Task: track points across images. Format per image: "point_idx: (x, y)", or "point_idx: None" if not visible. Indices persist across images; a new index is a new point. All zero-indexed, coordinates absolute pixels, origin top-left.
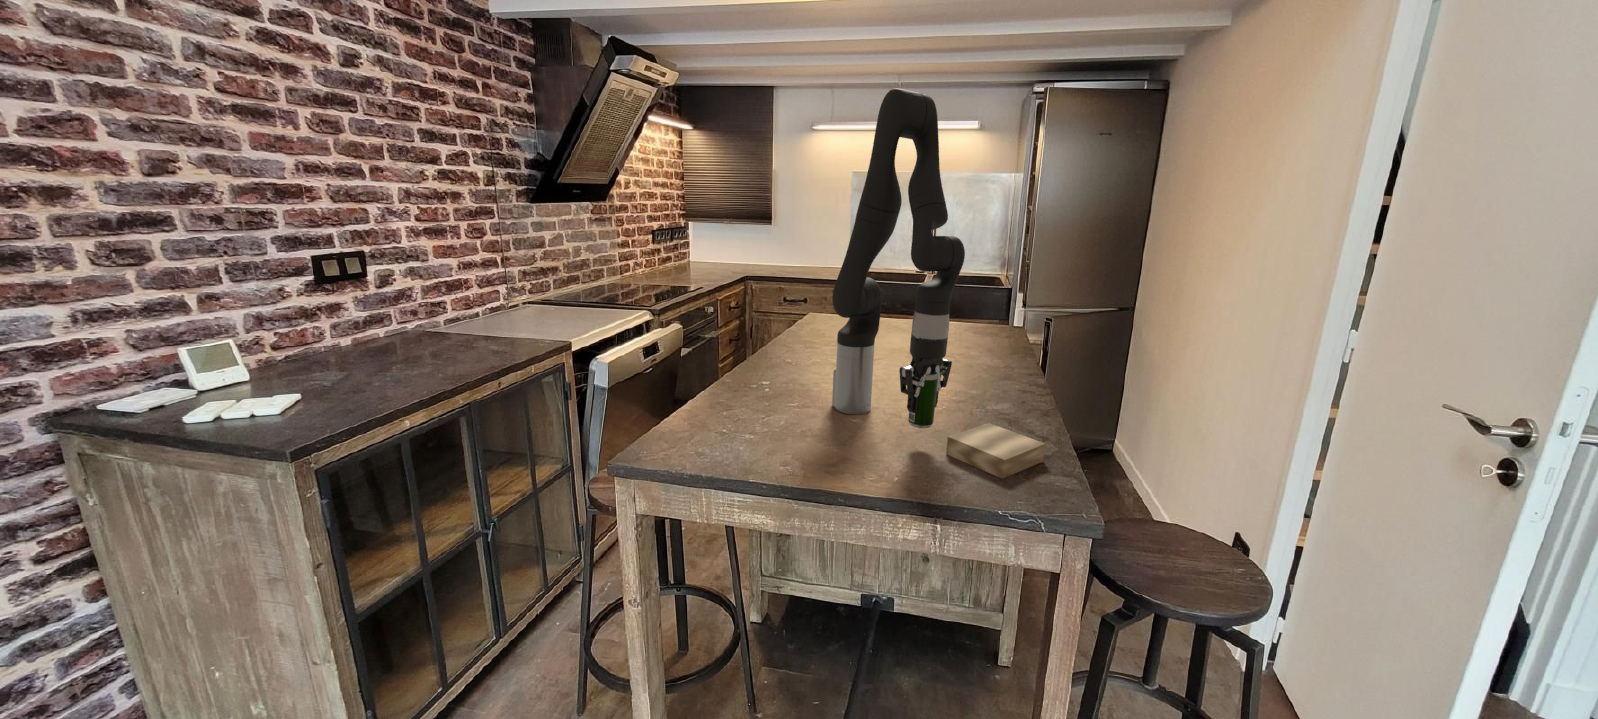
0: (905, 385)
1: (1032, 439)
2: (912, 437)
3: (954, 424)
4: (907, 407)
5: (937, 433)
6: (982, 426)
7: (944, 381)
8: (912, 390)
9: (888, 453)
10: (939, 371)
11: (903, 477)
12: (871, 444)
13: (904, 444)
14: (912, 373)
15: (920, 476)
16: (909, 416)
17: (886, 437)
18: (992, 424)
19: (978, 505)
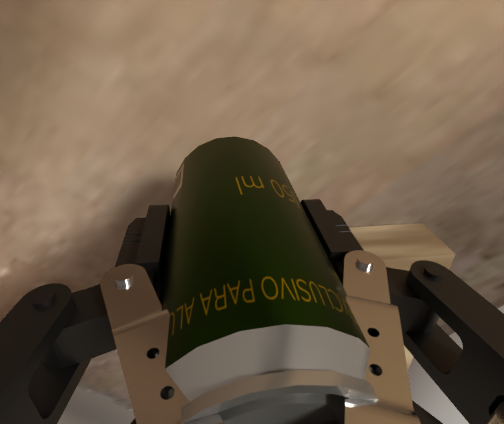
0: (43, 347)
1: (409, 358)
2: (259, 84)
3: (484, 86)
4: (130, 227)
5: (362, 111)
6: (412, 263)
7: (415, 351)
8: (76, 376)
9: (76, 142)
10: (486, 366)
11: (28, 275)
12: (55, 37)
13: (184, 116)
14: (136, 413)
15: (79, 288)
16: (178, 178)
17: (165, 17)
18: (449, 266)
19: (114, 395)
